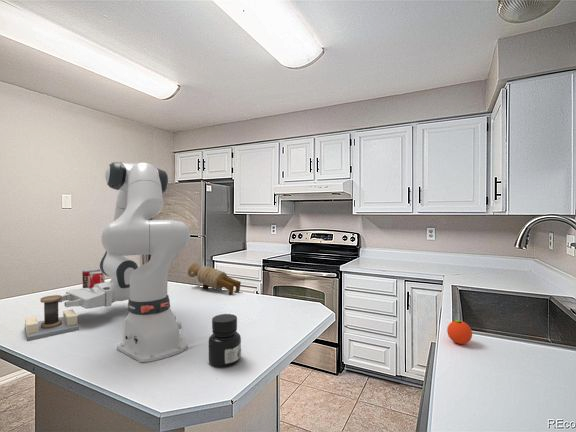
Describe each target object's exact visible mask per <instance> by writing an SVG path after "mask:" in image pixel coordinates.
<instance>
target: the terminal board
mask: <svg viewBox="0 0 576 432" xmlns="http://www.w3.org/2000/svg"><path fill="white" fill-rule="evenodd" d="M58 319H59V320H62V324H61V325H59V326H57V327H53V328H41V323H43V322H44V320H40V321H38V317H37V315H35V316H29V317H24V321H25V322H24V323H25V324H24V329H25V335H26V339H27V341H33V340H37V339H38V340H39V339H42V338H47V337H53V336H57V335H62V334H65V333H70V332H74V331H75V332H76V331H80V326H79V324H78V315H77V313H76V312H75V311H74V309H73V308H72V309H67V310H63V311H62V316H61V317H60V316H59V317H58Z"/></svg>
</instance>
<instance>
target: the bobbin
mask: <svg viewBox="0 0 576 432" xmlns="http://www.w3.org/2000/svg"><path fill="white" fill-rule="evenodd" d="M62 296H63V295H60V294H59V295H58V294H54V295H46V296H43V297H41V298H40V301H39V302H40V303H43V313H44V314H43V315H44V318H43V321H44V322H43V323H41V328H53V327H57V326H59V325H61V324H62V320H59V319H58V318H59V303H58V301H59V300H61V299H62Z"/></svg>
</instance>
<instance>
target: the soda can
mask: <svg viewBox="0 0 576 432" xmlns="http://www.w3.org/2000/svg"><path fill="white" fill-rule="evenodd" d="M99 283H105V274H103V273H102V272H101V270H100V271H95V272H90V273H89V276H88V288H89V289H91V288H93V287H94V285H95V284H99Z"/></svg>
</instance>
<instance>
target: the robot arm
mask: <svg viewBox="0 0 576 432" xmlns="http://www.w3.org/2000/svg"><path fill="white" fill-rule="evenodd" d="M104 177H105V178H104V179H105V181H106V185H107V186H108V187H109V188H110V189H112V190H115V191H118V194H117V197H116V202H115V209H114V210H115V211H114V216H113V221H111V222H110V223H108V224H107V225H106V226H105V227H104V229H103V230H102V231H101V232H102V233H101V236H100V237H101V244H102V247H103V249H104V250H105V252H104V255H103V257H102V259H101V260H100V263H99V269H100V271H101V272H102V273H103V274H104V276H107V277H110V278H111V280H110V281H106V282H105V283H99V284H95V285H94V287H93V288H91V289H89V288H83V287H81V288H75V289H70V290H66V291H65V294H64V295H61V296H62V299H61V300H59V301H58V304H59V303H62V302H64V308H71V307H72V308H73V307H81V308H83V309H96V308H101V307H106V308H107V307H110V306H112V304H113V303H116V302H124V301H127V307H128V308H127V310H128V314H127V315H126V317H124V319H123V323H122V339H121V341H122V342H120V343H118V344H117V346H116V350H117V351H119V352H121V353H123V354H125V355H127V357H130V358H132V359H134V360H136V361H137V362H139V363H148V362H153V361H159V360H161V359H165V358H169V357H171V356H175V355H177V354H180V353H182V352H184V351H185V350H187V349H188V347H189V346H188V343H187V341H186V339H184V337H183V336H182V334H181V333H180V330H181V329H183V328H182V322H181V321H176V320H177V315H174V314H173V312H172V309H171V301H170V298H169V297H170V295H169V294H168V279H169V272H170V268H171V265H172V263H174V260H175V258H177V257H178V255H179V254H181V252H183V251H184V250H185V249H186V248H187V246H188V245H189V243H190V240H191V233H190V229H189V227H188V225H187V224H186V223H184V221H180V220H173V219H153V218H154V217H156V216H158V215H159V214H160V213H161V212H162V211H163V208H164V198H163V194H164V193H166V191H167V189H168V186H169V177H168V174H167V172H166V171H165V170H163V169H160V168H156V167H155V165H152V164H151V163H148V162H137V163H129V162H128V163H127V162H122V161H113V162H111V163H109V165H108V167H107V168H106V169H105V175H104ZM139 255H140V256H141V255H143V256H144V255H150V259H149V260H148V261H147V262H146V263H144V264H142V265H140V266H138V264H137V262H135V261H134V260H133V259H129V258H127V257H126V256H139Z"/></svg>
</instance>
